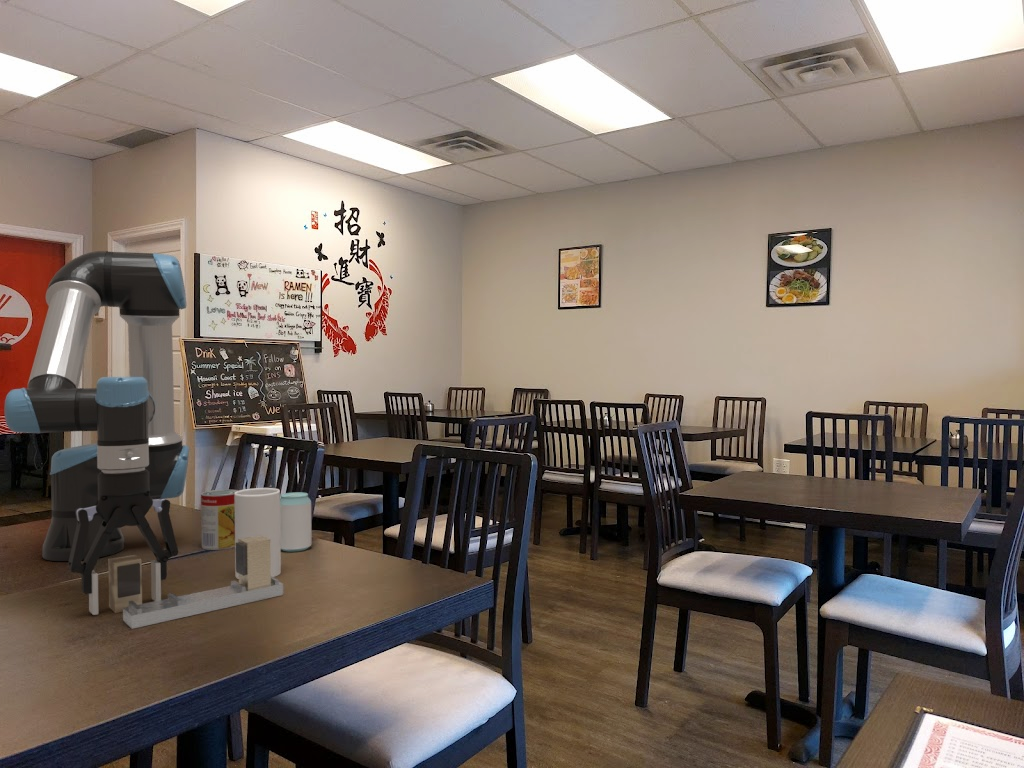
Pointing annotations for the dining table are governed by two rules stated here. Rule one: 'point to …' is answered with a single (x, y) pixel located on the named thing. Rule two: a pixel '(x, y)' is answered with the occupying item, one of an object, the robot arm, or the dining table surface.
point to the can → (295, 522)
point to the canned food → (218, 519)
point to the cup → (259, 520)
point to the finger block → (124, 582)
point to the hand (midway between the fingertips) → (125, 606)
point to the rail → (251, 587)
